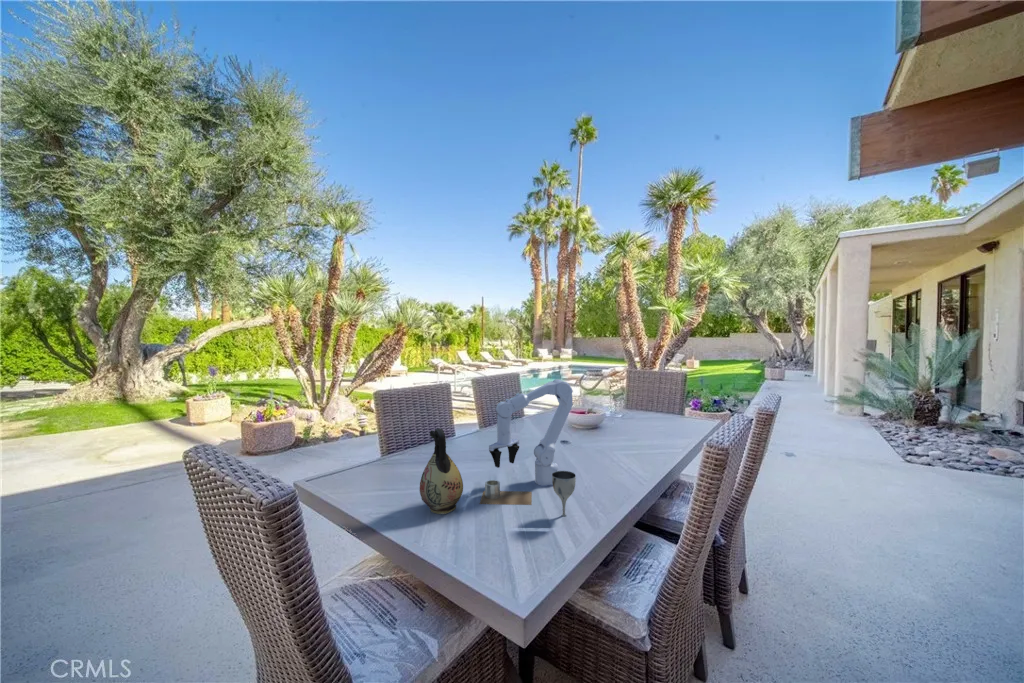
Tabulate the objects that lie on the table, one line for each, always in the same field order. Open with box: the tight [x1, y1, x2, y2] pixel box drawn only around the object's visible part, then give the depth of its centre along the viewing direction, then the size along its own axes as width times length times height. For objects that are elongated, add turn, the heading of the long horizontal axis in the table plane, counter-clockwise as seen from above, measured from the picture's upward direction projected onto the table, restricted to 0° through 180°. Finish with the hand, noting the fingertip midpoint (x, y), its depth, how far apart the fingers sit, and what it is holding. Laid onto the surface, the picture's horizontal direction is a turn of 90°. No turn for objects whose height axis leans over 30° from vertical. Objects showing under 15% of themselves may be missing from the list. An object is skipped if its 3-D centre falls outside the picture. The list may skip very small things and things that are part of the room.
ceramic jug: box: [419, 428, 464, 515], centre depth 143 cm, size 17×15×30 cm
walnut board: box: [479, 490, 533, 506], centre depth 151 cm, size 19×12×1 cm, turn 87°
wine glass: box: [552, 470, 577, 518], centre depth 136 cm, size 8×8×15 cm
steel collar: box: [484, 479, 501, 499], centre depth 153 cm, size 6×6×5 cm
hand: (504, 464), depth 163 cm, fingers open, 7 cm apart
